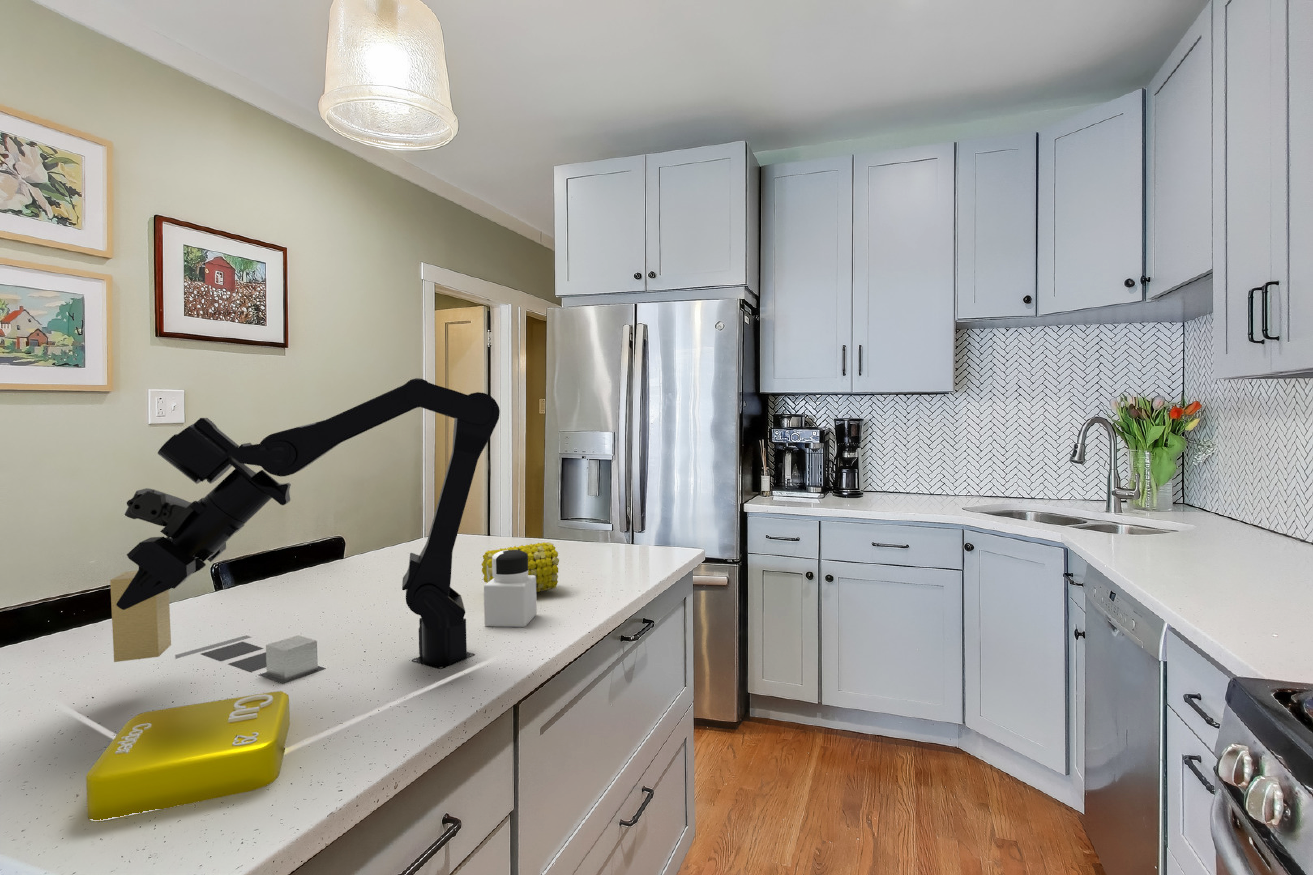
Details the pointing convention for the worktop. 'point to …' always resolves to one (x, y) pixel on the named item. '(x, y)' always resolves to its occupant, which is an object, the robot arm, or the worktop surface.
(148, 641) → the tan wooden block
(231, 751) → the element tile
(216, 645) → the grey slotted plate
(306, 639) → the zinc block
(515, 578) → the medicine bottle
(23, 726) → the worktop surface
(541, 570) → the food
